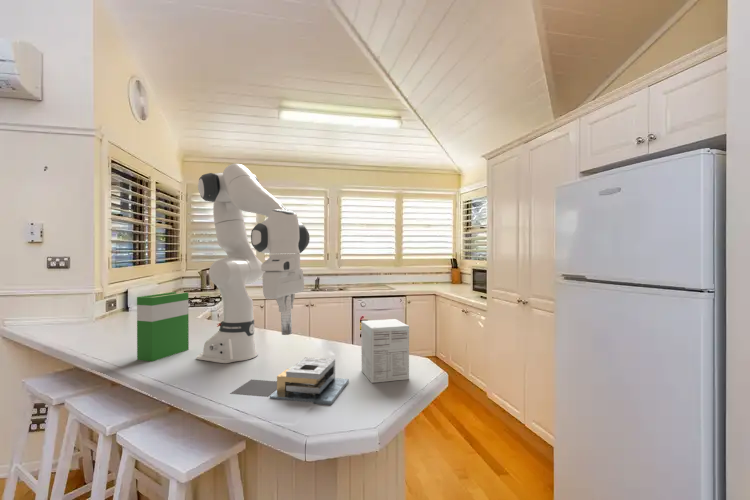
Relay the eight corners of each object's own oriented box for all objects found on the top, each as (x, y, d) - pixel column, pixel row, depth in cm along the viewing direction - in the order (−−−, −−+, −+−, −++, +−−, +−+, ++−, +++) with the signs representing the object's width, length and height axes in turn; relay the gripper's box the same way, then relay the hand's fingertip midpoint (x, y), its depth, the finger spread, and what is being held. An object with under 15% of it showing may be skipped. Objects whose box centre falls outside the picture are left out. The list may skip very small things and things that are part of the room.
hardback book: (174, 348, 162) (174, 291, 162) (188, 349, 160) (188, 292, 160) (137, 359, 145) (136, 297, 145) (152, 361, 143) (151, 297, 143)
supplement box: (410, 379, 123) (410, 325, 123) (371, 383, 119) (371, 328, 119) (396, 367, 136) (396, 318, 136) (360, 370, 132) (360, 320, 132)
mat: (229, 394, 110) (229, 393, 110) (251, 380, 122) (251, 379, 122) (268, 398, 108) (268, 396, 108) (286, 383, 120) (286, 382, 120)
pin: (279, 334, 111) (278, 287, 111) (284, 332, 114) (283, 286, 114) (289, 335, 111) (288, 286, 111) (293, 332, 114) (292, 286, 114)
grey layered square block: (269, 399, 107) (269, 373, 107) (295, 378, 124) (295, 355, 124) (331, 404, 103) (331, 377, 103) (348, 382, 121) (348, 358, 121)
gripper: (290, 262, 123) (291, 305, 123) (257, 265, 103) (259, 316, 103) (308, 262, 122) (309, 305, 122) (279, 264, 102) (280, 316, 102)
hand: (286, 310), depth 113 cm, fingers closed on pin, 3 cm apart
